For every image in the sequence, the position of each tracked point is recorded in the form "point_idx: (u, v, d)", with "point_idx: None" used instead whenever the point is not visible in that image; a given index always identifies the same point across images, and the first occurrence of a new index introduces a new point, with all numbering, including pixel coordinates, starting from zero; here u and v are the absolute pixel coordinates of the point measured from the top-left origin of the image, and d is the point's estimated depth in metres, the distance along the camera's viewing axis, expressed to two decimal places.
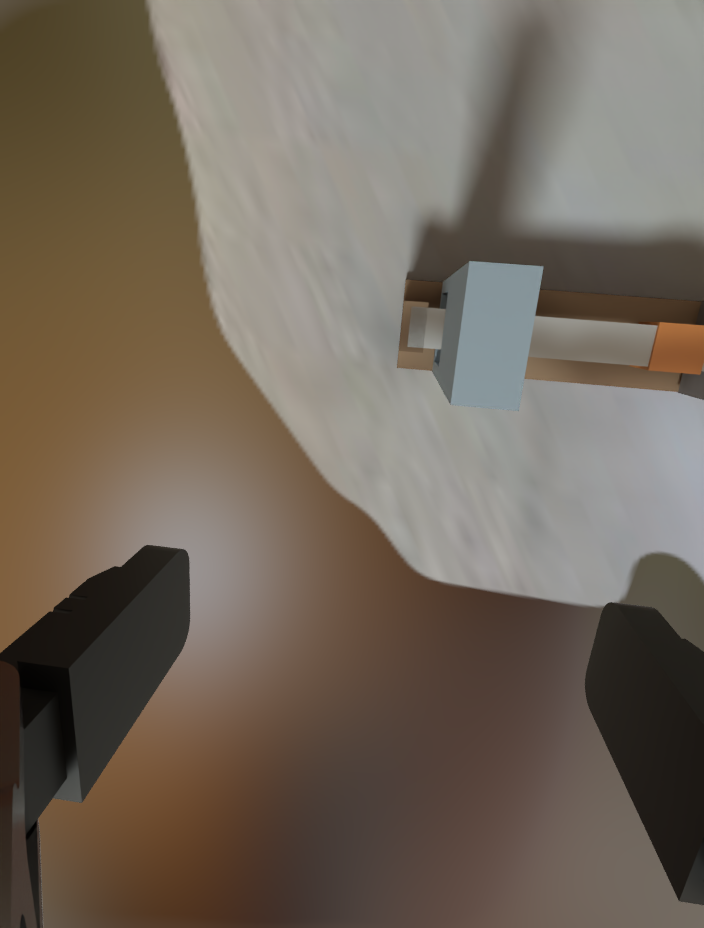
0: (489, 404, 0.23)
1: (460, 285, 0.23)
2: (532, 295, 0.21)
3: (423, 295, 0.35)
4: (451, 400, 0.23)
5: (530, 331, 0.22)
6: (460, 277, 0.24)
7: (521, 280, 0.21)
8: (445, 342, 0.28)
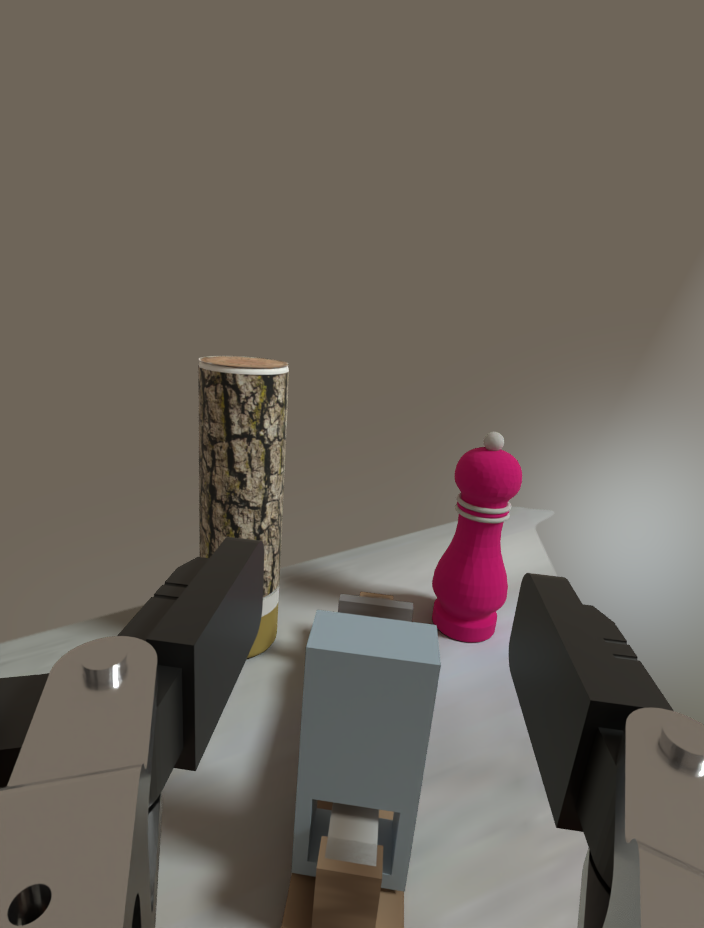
0: (434, 641, 0.24)
1: (321, 692, 0.23)
2: (339, 615, 0.25)
3: (304, 905, 0.26)
4: (436, 666, 0.22)
5: (368, 617, 0.25)
6: (312, 699, 0.24)
7: (326, 620, 0.25)
8: (372, 769, 0.24)
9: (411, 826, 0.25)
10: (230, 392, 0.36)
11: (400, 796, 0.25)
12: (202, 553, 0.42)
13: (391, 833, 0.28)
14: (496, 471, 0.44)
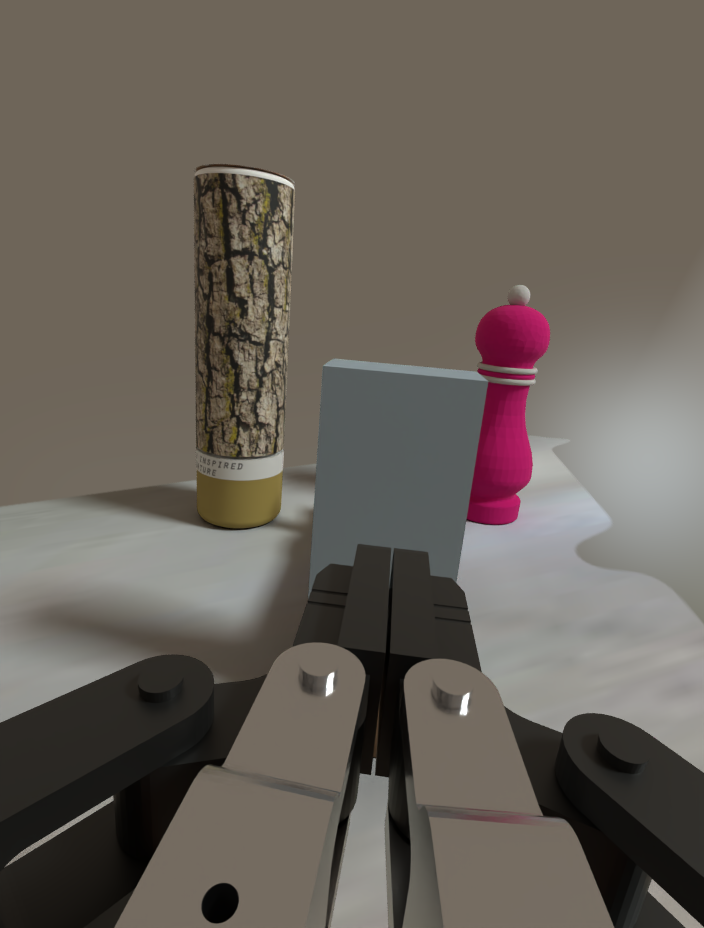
0: (476, 375, 0.20)
1: (340, 430, 0.19)
2: (360, 361, 0.21)
3: None
4: (482, 383, 0.18)
5: (394, 365, 0.21)
6: (330, 440, 0.19)
7: (345, 361, 0.21)
8: (402, 534, 0.20)
9: None
10: (229, 197, 0.32)
11: (434, 571, 0.21)
12: (198, 403, 0.38)
13: None
14: (523, 321, 0.40)
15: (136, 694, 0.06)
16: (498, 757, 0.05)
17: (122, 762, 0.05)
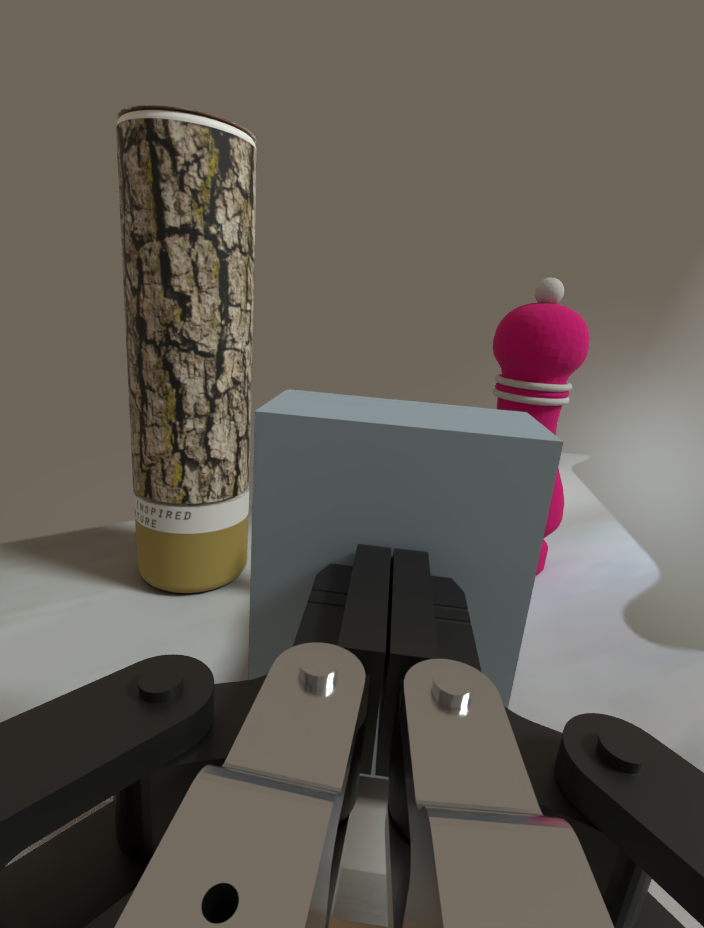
0: (532, 423, 0.11)
1: (290, 524, 0.11)
2: (330, 394, 0.13)
3: None
4: (552, 445, 0.10)
5: (388, 400, 0.13)
6: (272, 541, 0.11)
7: (304, 396, 0.12)
8: None
9: None
10: (160, 152, 0.23)
11: None
12: (132, 433, 0.28)
13: None
14: (557, 324, 0.31)
15: (136, 694, 0.06)
16: (498, 757, 0.05)
17: (122, 762, 0.05)
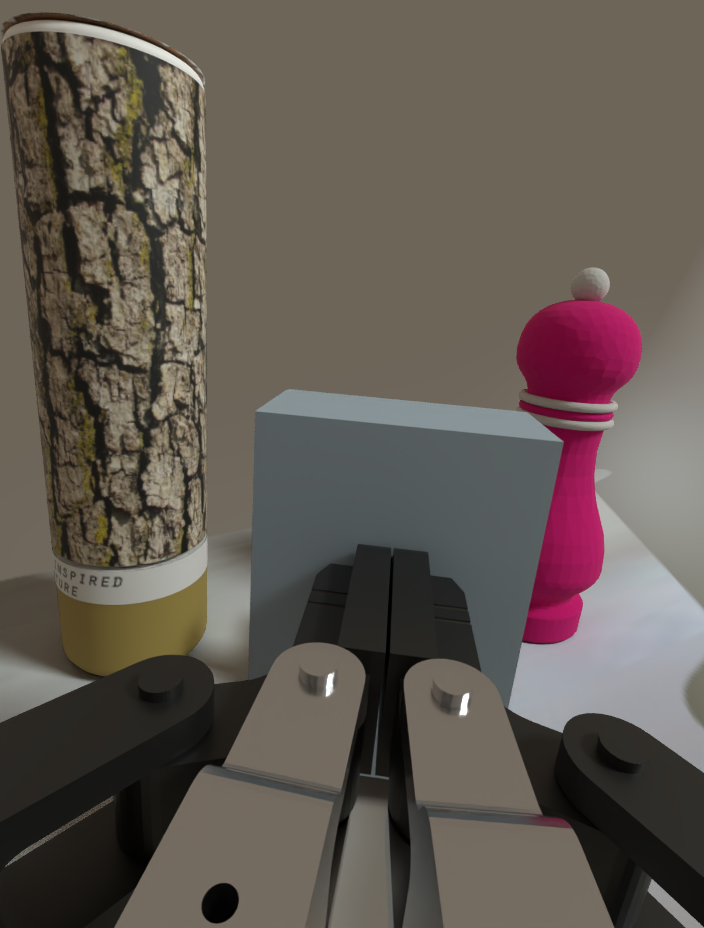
0: (532, 423, 0.11)
1: (290, 524, 0.11)
2: (331, 394, 0.13)
3: None
4: (552, 445, 0.10)
5: (388, 400, 0.13)
6: (272, 541, 0.11)
7: (304, 396, 0.12)
8: None
9: None
10: (56, 83, 0.16)
11: None
12: (44, 472, 0.21)
13: None
14: (604, 328, 0.24)
15: (136, 694, 0.06)
16: (497, 757, 0.05)
17: (122, 762, 0.05)
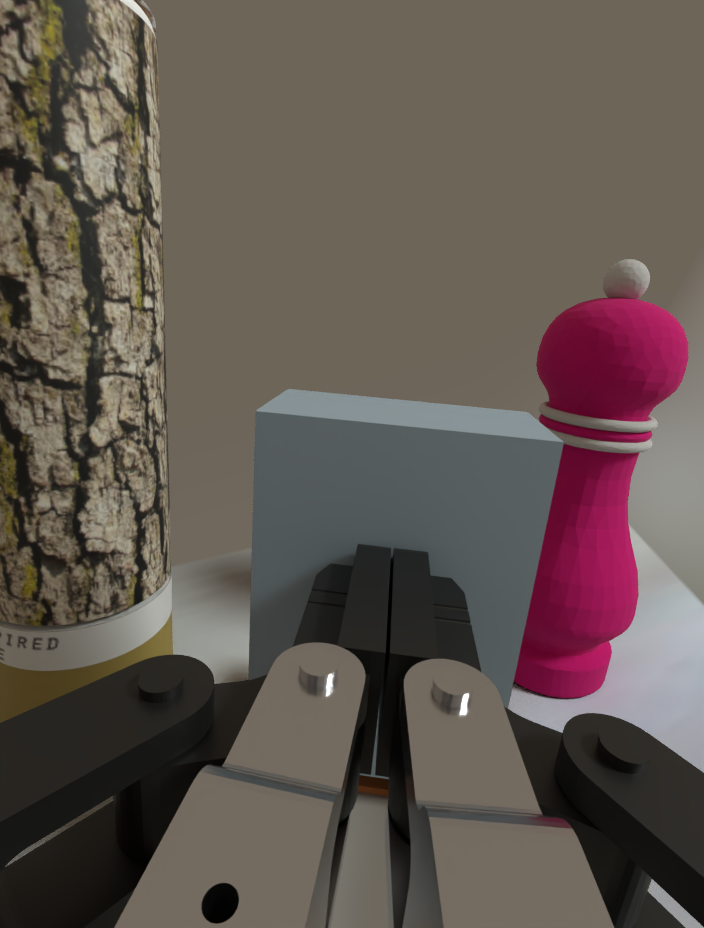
0: (533, 423, 0.11)
1: (291, 524, 0.11)
2: (331, 394, 0.13)
3: None
4: (552, 445, 0.10)
5: (389, 400, 0.13)
6: (273, 540, 0.11)
7: (305, 396, 0.12)
8: None
9: None
10: None
11: None
12: None
13: None
14: (646, 331, 0.20)
15: (136, 694, 0.06)
16: (497, 757, 0.05)
17: (122, 762, 0.05)
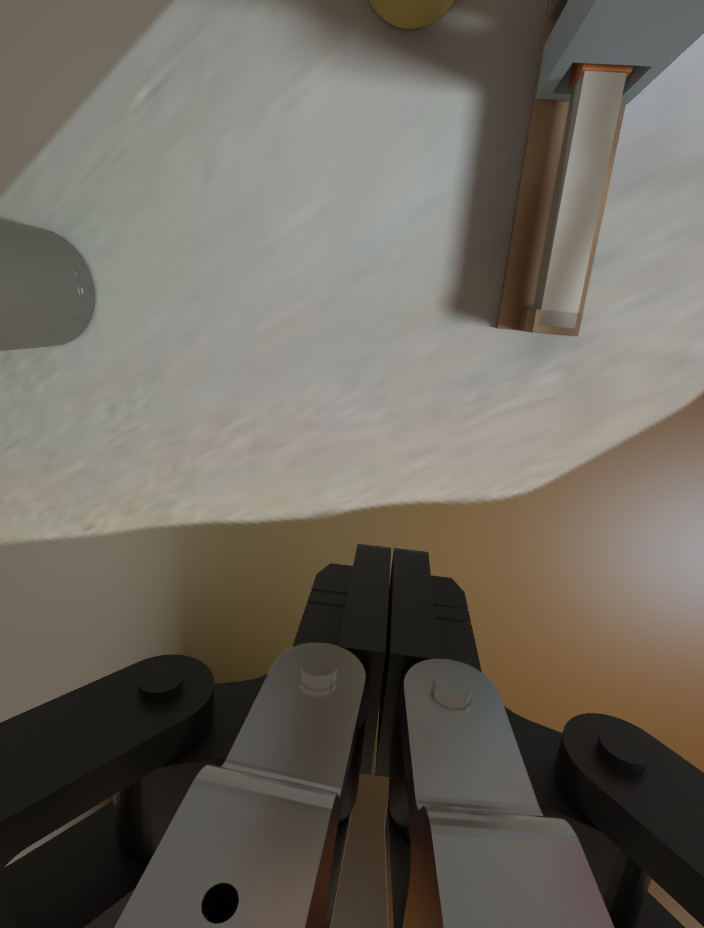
0: None
1: None
2: None
3: (513, 311, 0.39)
4: None
5: None
6: (606, 1, 0.23)
7: None
8: (642, 43, 0.27)
9: (657, 73, 0.29)
10: None
11: (658, 57, 0.28)
12: None
13: None
14: None
15: (136, 694, 0.06)
16: (498, 757, 0.05)
17: (122, 761, 0.05)
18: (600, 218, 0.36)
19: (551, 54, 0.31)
